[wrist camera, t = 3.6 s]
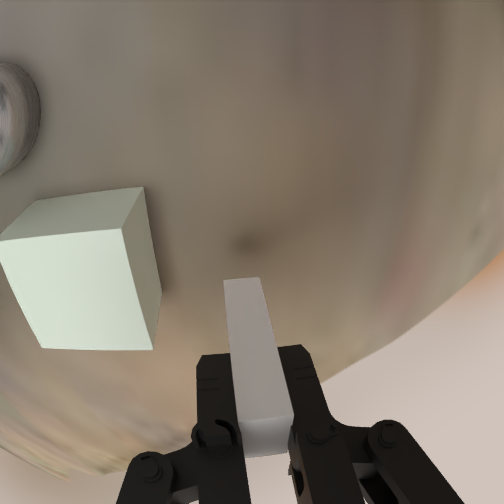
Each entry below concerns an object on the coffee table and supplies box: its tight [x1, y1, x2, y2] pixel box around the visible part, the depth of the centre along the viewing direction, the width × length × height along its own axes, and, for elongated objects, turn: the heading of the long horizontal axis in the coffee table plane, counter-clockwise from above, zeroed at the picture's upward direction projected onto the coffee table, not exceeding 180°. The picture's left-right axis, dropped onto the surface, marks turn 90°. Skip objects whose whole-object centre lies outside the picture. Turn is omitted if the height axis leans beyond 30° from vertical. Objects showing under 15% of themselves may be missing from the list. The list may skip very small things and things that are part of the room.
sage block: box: [0, 187, 162, 350], centre depth 16 cm, size 7×7×5 cm
